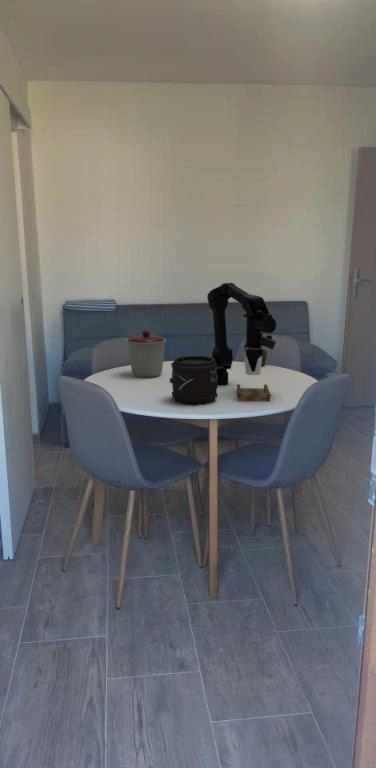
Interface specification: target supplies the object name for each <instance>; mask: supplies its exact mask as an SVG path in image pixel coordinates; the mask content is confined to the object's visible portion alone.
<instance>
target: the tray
mask: <svg viewBox="0 0 376 768" xmlns="http://www.w3.org/2000/svg"><path fill="white" fill-rule="evenodd" d="M236 393H237V401H238V402H271V392H270V389H269V386H268V384H263V388H261V387H260V388H257V387H256V388H253V387H252V388H250V387H249V388H243V387H241V384H236Z"/></svg>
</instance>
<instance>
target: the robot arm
mask: <svg viewBox="0 0 376 768" xmlns="http://www.w3.org/2000/svg"><path fill="white" fill-rule="evenodd" d="M231 298H232V299H234V301H236V302H238V303H239V304H240V305H241V308H242V309H243V311H245V312H246V313H244V314H243V318H246V322H245V323H246V324H245V326H246V327H245V342H244V346H243V348H244V352H245V355H246V356H247V359H248V362H249V365H250V367H251V370H252V372H254V371H255V368H256V364H257V360H258V358H260V357H261V356H262V355H263V350H264V349H263V347H265V348H269V349H270V350H274V348H275V347H276V343H277V341H276V340H274V339H273V337H272V335H269V334H271V333H274V332H275V330H276V328H277V322H276V320H275V319H274V317H273V315H272V314H271V313H270V312H269V309H268V307H267V305H266V303H265V300H264V298H263V297H261V296H259V295H255V294H250V293H248V292H246V291H245V290H243V289H242V288H240V287H238V286H237V285H236V284H235V283H233V282H225V283H222V284H221V285H219V286H217V287H215V288H212V289H211V290H210V291H209V292H208V293H207V301H208V306H209V308H210V310H211V311H212V315H213V318H212V319H213V330H214V344H215V345H214V348H213V350H212V352H211V358H214V360H215V362H216V363H217V366H218V367H217V368H216V369H217V386H221V385H222V386H224V385H225V386H226V385H228V383H229V372H228V370H231V369H232V366H233V365H232V364H233V361H234V357H233V349H232V348H231V349H230V347H229V346H228V339H227V337H228V336H227V324H226V321H227V320H226V309H227V307H228V306H229V300H230V299H231ZM263 333H267V335H266V336H264V335H263Z"/></svg>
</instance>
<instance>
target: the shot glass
mask: <svg viewBox="0 0 376 768" xmlns="http://www.w3.org/2000/svg"><path fill="white" fill-rule="evenodd" d="M261 363H262V356H261V357H260V358H258V360H257V364H256V368H255V371H254V372H252V370H251V367H250V365H249V362H248V359H247V356H246V354H245V355H244V364H245V365H244V367H245V375H249V376H258V375H261V370H262V366H261Z"/></svg>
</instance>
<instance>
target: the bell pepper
mask: <svg viewBox="0 0 376 768" xmlns="http://www.w3.org/2000/svg"><path fill="white" fill-rule="evenodd" d="M267 357H268V352H267V350H266V349H263V355H262V363H261V367H263V366H265V365H266V362H267Z"/></svg>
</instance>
